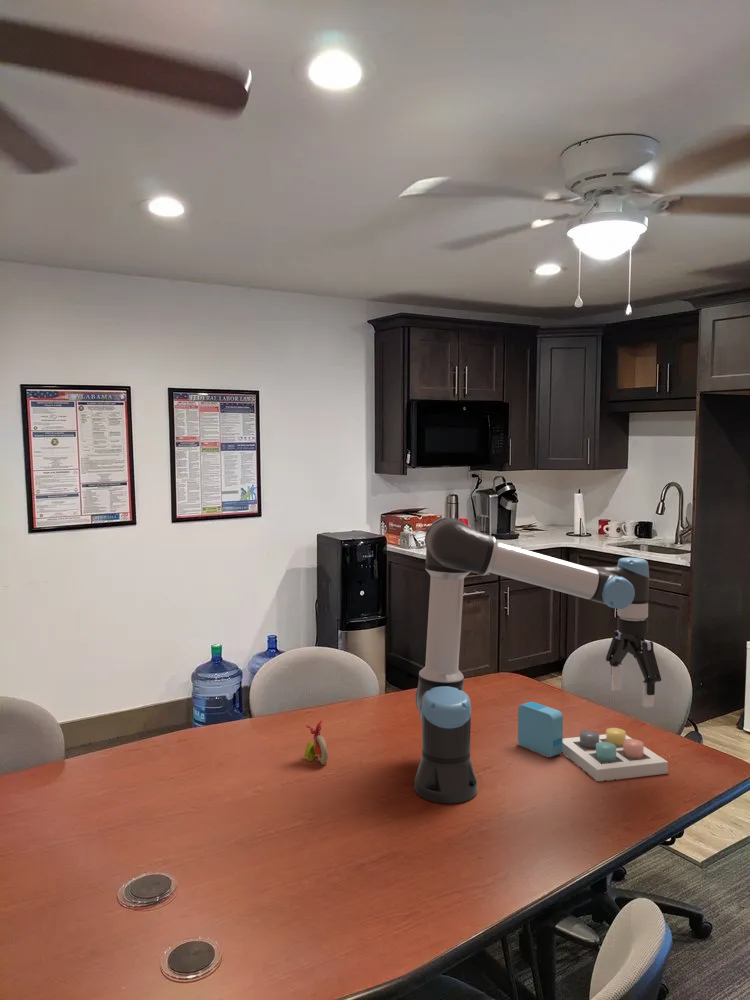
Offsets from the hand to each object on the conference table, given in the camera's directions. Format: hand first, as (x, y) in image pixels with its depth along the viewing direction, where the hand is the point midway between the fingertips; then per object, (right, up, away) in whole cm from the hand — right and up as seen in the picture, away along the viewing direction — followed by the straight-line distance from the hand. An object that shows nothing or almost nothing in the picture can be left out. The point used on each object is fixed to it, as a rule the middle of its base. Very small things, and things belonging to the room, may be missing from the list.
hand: (631, 698), depth 185 cm
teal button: (-8, -15, -2) cm, 17 cm away
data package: (-22, -17, +10) cm, 30 cm away
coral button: (0, -15, 0) cm, 15 cm away
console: (-5, -17, +3) cm, 18 cm away
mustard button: (-2, -14, +7) cm, 16 cm away
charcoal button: (-9, -14, +5) cm, 18 cm away
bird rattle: (-82, -18, +2) cm, 84 cm away
